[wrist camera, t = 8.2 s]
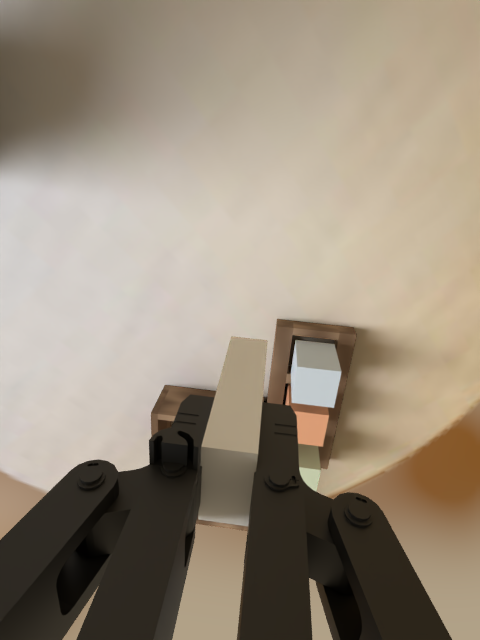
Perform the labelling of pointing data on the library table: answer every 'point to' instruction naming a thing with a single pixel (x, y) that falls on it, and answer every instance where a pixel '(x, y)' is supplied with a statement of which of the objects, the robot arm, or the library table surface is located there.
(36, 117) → the library table surface
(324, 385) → the pale blue block
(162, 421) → the figurine holder
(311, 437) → the orange block
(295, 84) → the library table surface
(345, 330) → the board
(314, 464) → the pale green block
